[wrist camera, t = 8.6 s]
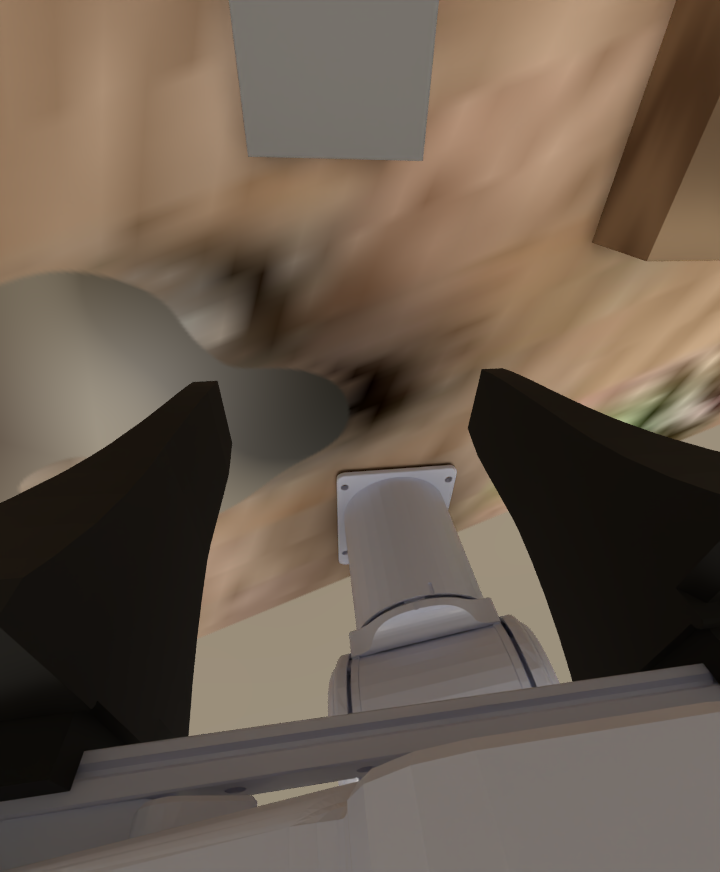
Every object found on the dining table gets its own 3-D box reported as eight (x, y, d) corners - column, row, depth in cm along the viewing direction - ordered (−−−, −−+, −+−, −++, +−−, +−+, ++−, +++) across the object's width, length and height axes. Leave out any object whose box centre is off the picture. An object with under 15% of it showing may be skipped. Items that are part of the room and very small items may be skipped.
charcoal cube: (390, 155, 15) (422, 160, 11) (261, 151, 15) (248, 156, 11) (401, -41, 12) (451, -126, 8) (239, -54, 12) (209, -154, 8)
